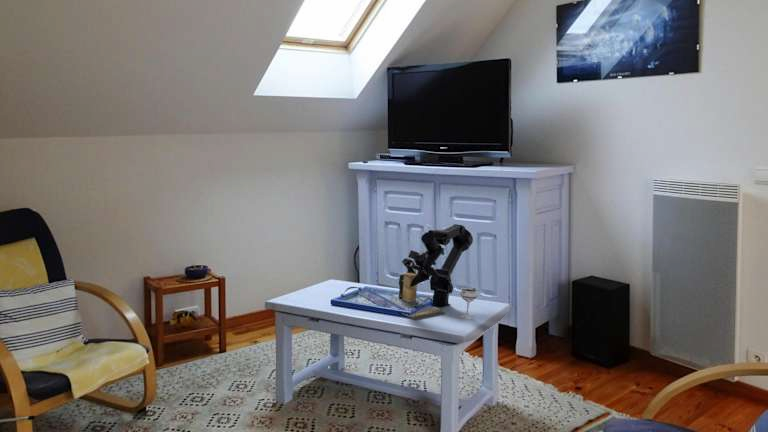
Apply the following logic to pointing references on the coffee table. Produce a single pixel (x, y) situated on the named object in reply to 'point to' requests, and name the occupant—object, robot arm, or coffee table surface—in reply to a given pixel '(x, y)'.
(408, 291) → the sleeve
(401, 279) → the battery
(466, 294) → the wineglass
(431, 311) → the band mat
